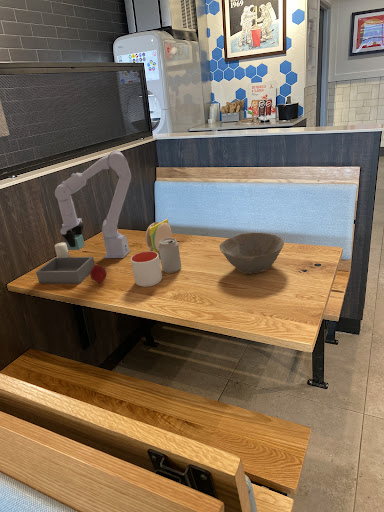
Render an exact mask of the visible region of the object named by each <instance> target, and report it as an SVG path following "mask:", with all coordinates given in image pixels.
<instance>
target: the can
mask: <svg viewBox="0 0 384 512" xmlns="http://www.w3.org/2000/svg"><path fill="white" fill-rule="evenodd" d="M159 243H160V244H159V246H158V247H159V253H158V254H159V260H160V267H161V271H163V272H165V273H168V274H169V273H171V274H174V273H177V272H178V271H180V269H181V268H182V260H181V254H180V246H179V242H178V241H177V239H176V238H174V237H171V238H166V239H162V240H161V241H160V242H159Z"/></svg>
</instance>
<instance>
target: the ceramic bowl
mask: <svg viewBox="0 0 384 512" xmlns="http://www.w3.org/2000/svg"><path fill="white" fill-rule="evenodd" d="M284 244H285V242H284V238H281V236H278V235H275V234H272V233H265V232H246V233H241V234H237V235H235V236H231V237H229V238H227V239H225V240H224V241H223V242H221V243H220V244H219V246H218V247H219V250H220V252H221V253H222V255H223V256H224V257H225V258H226V260H227V261H228V262H229V263H230V264H231V265H232V266H233V267H234V268H235V270H237V271H239V272H241V273H244V274H259V273H261V272H265V271H266V270H268V269H270V268H272V266H273V264H274V263H275V262H276V260H277V259H278V256H279V255H280V253H281V252H282V249H283V248H284V246H285V245H284Z"/></svg>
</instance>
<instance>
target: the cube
mask: <svg viewBox="0 0 384 512" xmlns="http://www.w3.org/2000/svg"><path fill="white" fill-rule="evenodd" d="M65 240H66V239H65ZM65 242H66V245H67V249H68V251H80V250H81V249H83V248H84V247H85V246H86V243H85V240H84V236H83V233H82V234H80V235H75V244H76V246H75V247H70V245H69V244H68V242H67V240H66V241H65Z"/></svg>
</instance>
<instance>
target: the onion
mask: <svg viewBox="0 0 384 512" xmlns="http://www.w3.org/2000/svg"><path fill="white" fill-rule="evenodd" d="M94 263H95V262H94ZM89 275H90V278H91V280H92V281H94V282H95V283H99V284H100V283H102V282H104V280H106V277H107V276H108V275H107V270H106V269H105V267H104V266H102V265H100V264H98V263H95V266H94V267H93V268H92V270H91V272H90V274H89Z"/></svg>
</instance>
